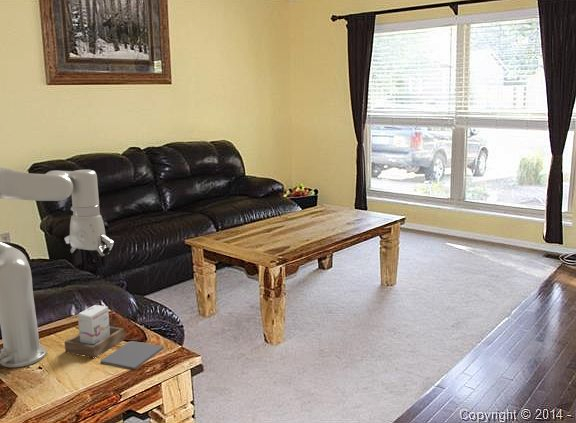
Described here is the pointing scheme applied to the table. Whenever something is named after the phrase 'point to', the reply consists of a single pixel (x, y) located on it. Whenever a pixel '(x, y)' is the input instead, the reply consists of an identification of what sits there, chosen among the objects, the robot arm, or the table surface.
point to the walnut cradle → (95, 350)
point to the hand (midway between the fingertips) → (90, 265)
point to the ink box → (93, 324)
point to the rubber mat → (132, 355)
